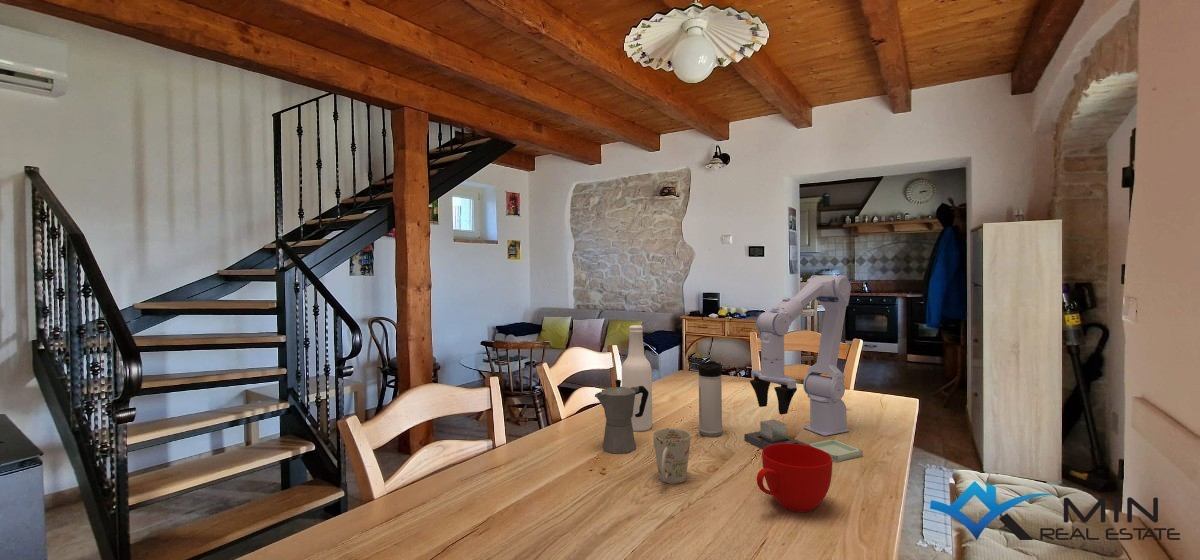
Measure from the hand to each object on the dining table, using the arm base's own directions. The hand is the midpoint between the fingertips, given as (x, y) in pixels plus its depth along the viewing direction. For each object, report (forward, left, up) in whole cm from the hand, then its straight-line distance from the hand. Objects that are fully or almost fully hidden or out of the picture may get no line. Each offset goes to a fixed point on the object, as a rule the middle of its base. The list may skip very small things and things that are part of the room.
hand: (772, 410), depth 134 cm
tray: (-10, +11, -9) cm, 17 cm away
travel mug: (+9, -15, -10) cm, 20 cm away
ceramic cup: (+21, +28, -10) cm, 36 cm away
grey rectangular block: (0, 0, -9) cm, 9 cm away
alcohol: (+25, -29, -10) cm, 39 cm away
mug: (+36, +8, -10) cm, 38 cm away
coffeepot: (+36, -16, -10) cm, 40 cm away
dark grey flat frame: (0, +4, -9) cm, 10 cm away
